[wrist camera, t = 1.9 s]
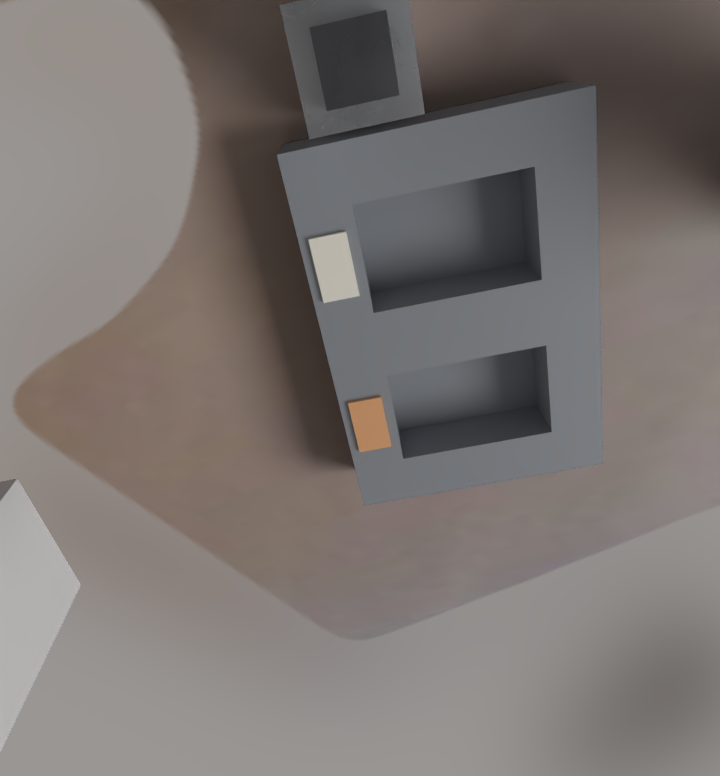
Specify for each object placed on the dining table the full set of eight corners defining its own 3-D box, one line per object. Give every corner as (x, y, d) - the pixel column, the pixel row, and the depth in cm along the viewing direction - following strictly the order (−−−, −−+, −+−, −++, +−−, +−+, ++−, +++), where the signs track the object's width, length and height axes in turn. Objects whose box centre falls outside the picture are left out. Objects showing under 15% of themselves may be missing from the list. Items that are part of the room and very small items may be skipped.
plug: (298, 19, 28) (277, 3, 19) (385, -1, 28) (408, -28, 19) (318, 113, 30) (308, 142, 21) (399, 95, 30) (428, 116, 20)
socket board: (283, 144, 31) (276, 155, 28) (569, 81, 30) (597, 85, 27) (362, 469, 40) (364, 507, 37) (582, 430, 39) (604, 465, 36)
